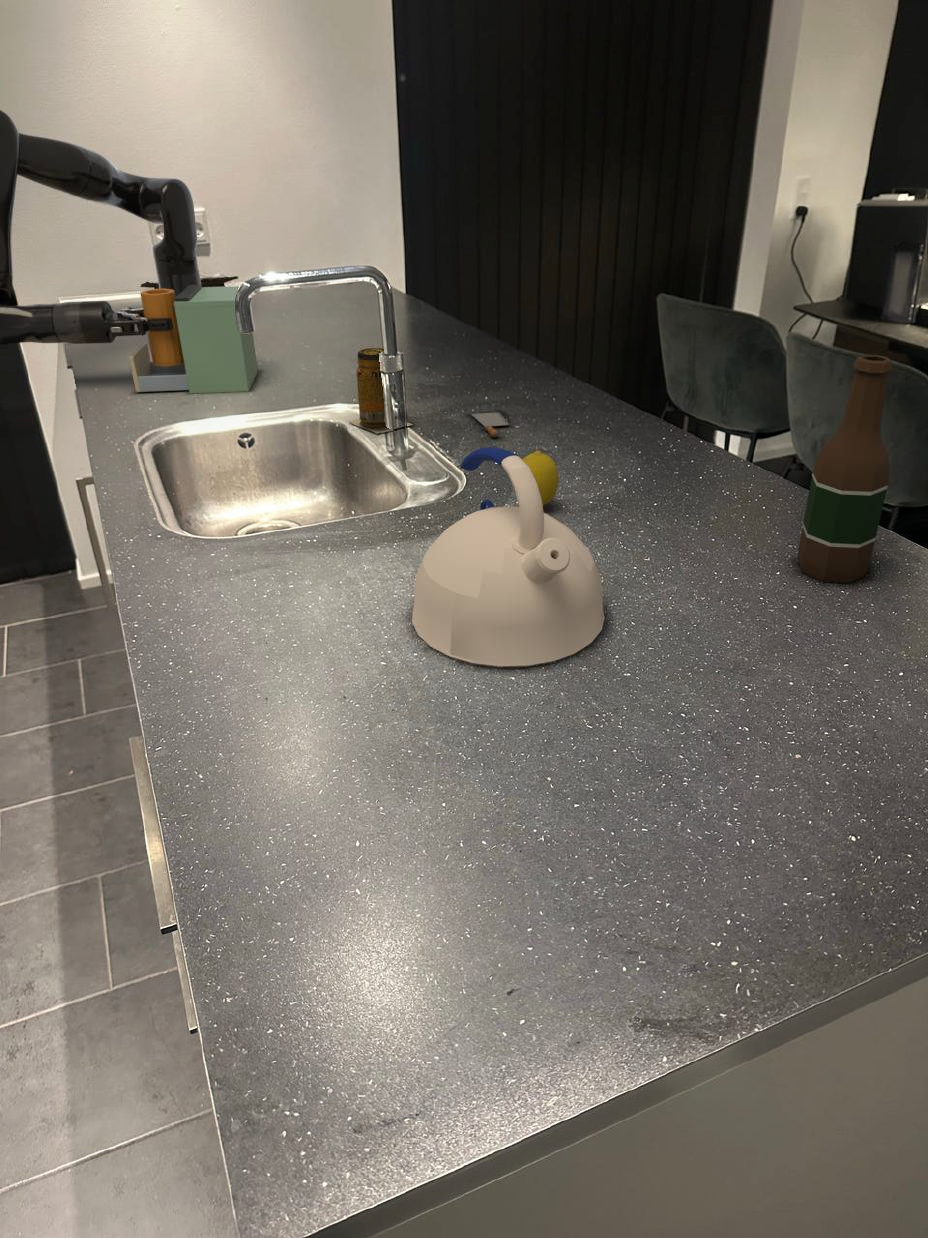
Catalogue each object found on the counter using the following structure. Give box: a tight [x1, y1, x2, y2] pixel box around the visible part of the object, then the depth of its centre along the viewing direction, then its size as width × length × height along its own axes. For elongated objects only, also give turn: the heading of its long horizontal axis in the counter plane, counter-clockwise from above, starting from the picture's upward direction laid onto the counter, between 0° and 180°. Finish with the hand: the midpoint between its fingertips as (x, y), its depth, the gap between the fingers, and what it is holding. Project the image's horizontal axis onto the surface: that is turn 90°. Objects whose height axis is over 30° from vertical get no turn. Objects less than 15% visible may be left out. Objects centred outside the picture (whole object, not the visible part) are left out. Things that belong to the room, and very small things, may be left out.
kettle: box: [411, 446, 605, 668], centre depth 91 cm, size 20×21×18 cm
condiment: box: [349, 347, 413, 434], centre depth 148 cm, size 7×8×12 cm
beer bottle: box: [797, 354, 894, 584], centre depth 97 cm, size 8×8×24 cm
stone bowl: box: [140, 275, 239, 289], centre depth 235 cm, size 25×25×9 cm
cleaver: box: [470, 411, 510, 439], centre depth 150 cm, size 13×1×5 cm
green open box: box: [174, 285, 259, 394], centre depth 171 cm, size 14×11×17 cm
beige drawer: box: [128, 342, 189, 393], centre depth 173 cm, size 11×11×6 cm
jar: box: [140, 288, 184, 367], centre depth 170 cm, size 6×6×13 cm
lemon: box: [522, 450, 559, 506], centre depth 118 cm, size 6×6×8 cm
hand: (175, 320), depth 169 cm, fingers closed on jar, 6 cm apart
